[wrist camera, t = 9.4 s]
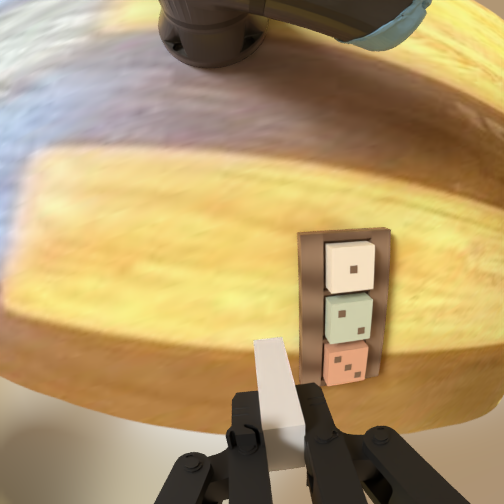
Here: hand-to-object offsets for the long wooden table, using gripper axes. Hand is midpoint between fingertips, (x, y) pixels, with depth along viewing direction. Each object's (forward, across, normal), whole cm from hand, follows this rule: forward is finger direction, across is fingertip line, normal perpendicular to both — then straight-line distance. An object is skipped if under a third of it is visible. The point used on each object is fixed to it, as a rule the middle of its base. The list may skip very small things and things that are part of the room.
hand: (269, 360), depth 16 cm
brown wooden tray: (+27, +12, -11) cm, 32 cm away
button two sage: (+25, +12, -11) cm, 30 cm away
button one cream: (+26, +13, -4) cm, 29 cm away
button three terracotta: (+25, +12, -18) cm, 34 cm away
